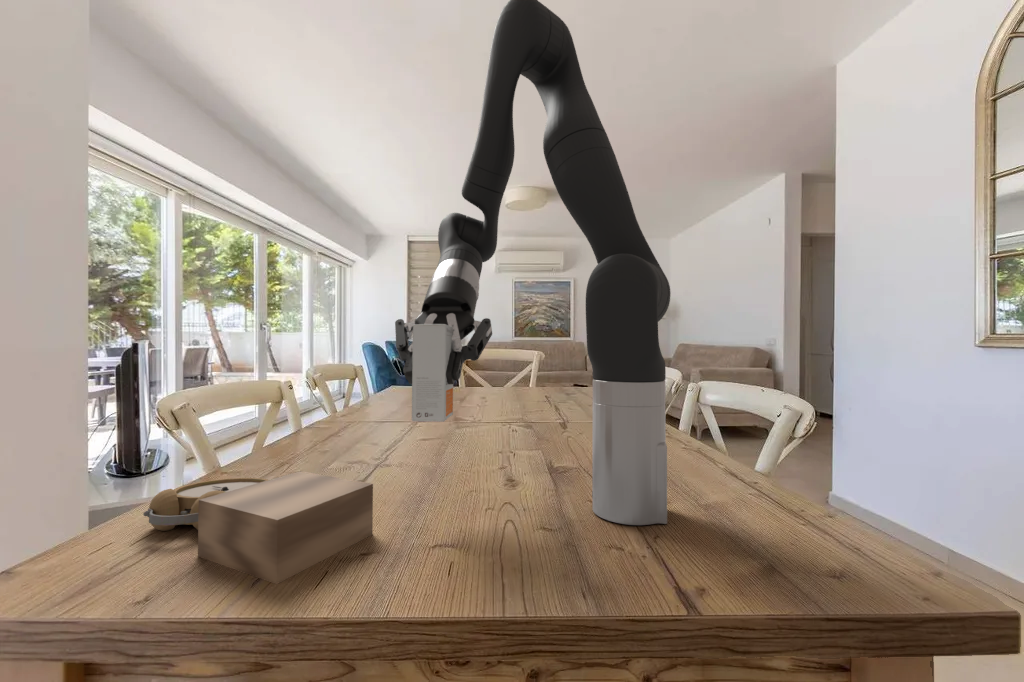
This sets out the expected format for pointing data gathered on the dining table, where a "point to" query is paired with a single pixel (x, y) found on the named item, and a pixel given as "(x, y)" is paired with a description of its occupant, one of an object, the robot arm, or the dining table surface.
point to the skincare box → (431, 373)
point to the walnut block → (284, 523)
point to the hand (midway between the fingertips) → (430, 379)
